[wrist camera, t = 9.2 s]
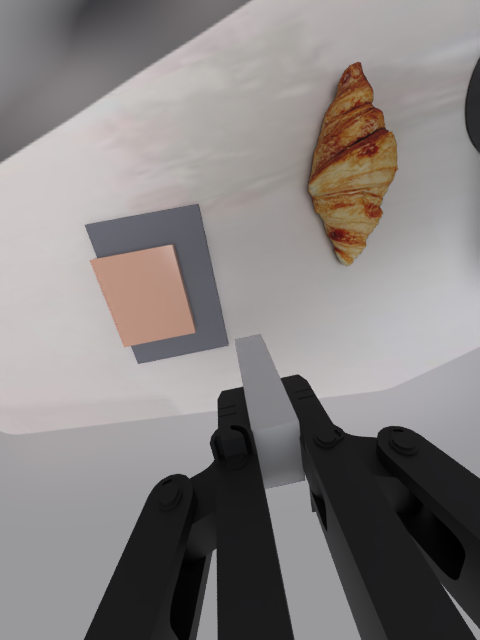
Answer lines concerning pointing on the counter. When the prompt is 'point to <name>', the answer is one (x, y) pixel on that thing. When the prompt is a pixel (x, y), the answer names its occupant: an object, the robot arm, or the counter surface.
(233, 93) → the counter surface
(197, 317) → the mat
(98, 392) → the counter surface
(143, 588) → the robot arm
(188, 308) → the block
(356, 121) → the croissant
